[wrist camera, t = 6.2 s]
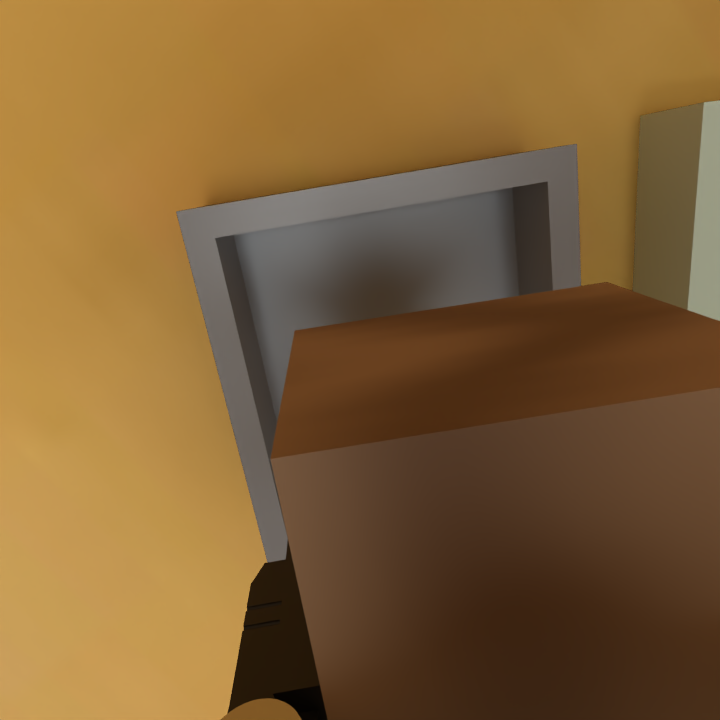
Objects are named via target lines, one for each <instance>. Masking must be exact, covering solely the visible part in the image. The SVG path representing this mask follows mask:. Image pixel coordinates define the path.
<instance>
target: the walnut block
mask: <svg viewBox="0 0 720 720" xmlns="http://www.w3.org/2000/svg"><path fill="white" fill-rule="evenodd" d="M270 460H271V464H272V469H273V473H274V478H275V482H276V487H277V491H278V496H279V501H280V505H281V510H282V514H283V519H284V523H285V528H286V532H287V537H288V542H289V546H290V551H291V555H292V560H293V564H294V569H295V573H296V578H297V583H298V587H299V592H300V596H301V601H302V605H303V610H304V614H305V619H306V624H307V628H308V633H309V637H310V642H311V646H312V651H313V655H314V660H315V665H316V669H317V674H318V678H319V683H320V687H321V692H322V696H323V701H324V706H325V710H326V715H327V719H328V720H720V321H718V320H715V319H712V318H709V317H706V316H703V315H701V314H698V313H695V312H692V311H689V310H686V309H683V308H680V307H677V306H674V305H672V304H669V303H666V302H663V301H660V300H657V299H654V298H651V297H648V296H645V295H643V294H640V293H637V292H634V291H631V290H628V289H625V288H622V287H619V286H616V285H614V284H611V283H608V282H604V283H598V284H592V285H585V286H579V287H572V288H566V289H559V290H553V291H546V292H540V293H533V294H527V295H520V296H514V297H508V298H501V299H495V300H488V301H482V302H475V303H469V304H462V305H456V306H449V307H443V308H436V309H430V310H423V311H417V312H411V313H404V314H398V315H391V316H385V317H378V318H372V319H365V320H359V321H352V322H346V323H339V324H333V325H327V326H320V327H314V328H307V329H301V330H295V332H294V337H293V342H292V347H291V353H290V358H289V363H288V369H287V374H286V379H285V384H284V390H283V395H282V400H281V405H280V411H279V416H278V421H277V427H276V432H275V437H274V442H273V448H272V453H271V458H270Z"/></svg>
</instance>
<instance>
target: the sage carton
mask: <svg viewBox="0 0 720 720" xmlns="http://www.w3.org/2000/svg"><path fill="white" fill-rule="evenodd" d="M633 291H634V292H637V293H640V294H643V295H645V296H648V297H651V298H654V299H657V300H660V301H663V302H666V303H669V304H672V305H674V306H677V307H680V308H683V309H686V310H689V311H692V312H695V313H698V314H701V315H703V316H706V317H709V318H712V319H715V320H718V321H720V101H711V102H704V103H699V104H694V105H689V106H684V107H680V108H675V109H670V110H665V111H661V112H656V113H651V114H646V115H642V116H640V136H639V158H638V181H637V204H636V226H635V249H634V272H633Z"/></svg>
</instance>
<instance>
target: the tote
mask: <svg viewBox="0 0 720 720" xmlns="http://www.w3.org/2000/svg"><path fill="white" fill-rule="evenodd" d="M176 213H177V217H178V220H179V224H180V228H181V232H182V236H183V240H184V243H185V247H186V251H187V255H188V259H189V263H190V266H191V270H192V274H193V278H194V282H195V286H196V289H197V293H198V297H199V301H200V305H201V309H202V312H203V316H204V320H205V324H206V328H207V332H208V335H209V339H210V343H211V347H212V351H213V355H214V358H215V362H216V366H217V370H218V374H219V378H220V381H221V385H222V389H223V393H224V397H225V401H226V405H227V408H228V412H229V416H230V420H231V424H232V428H233V431H234V435H235V439H236V443H237V447H238V451H239V454H240V458H241V462H242V466H243V470H244V474H245V477H246V481H247V485H248V489H249V493H250V497H251V500H252V504H253V508H254V512H255V516H256V520H257V523H258V527H259V531H260V535H261V539H262V543H263V546H264V550H265V554H266V558H267V562H274V561H279V560H285V559H286V552H287V542H288V537H287V532H286V528H285V523H284V519H283V514H282V510H281V505H280V501H279V496H278V491H277V487H276V482H275V478H274V473H273V469H272V464H271V460H270V458H271V453H272V448H273V442H274V437H275V432H276V427H277V421H278V416H279V411H280V405H281V400H282V395H283V390H284V384H285V379H286V374H287V369H288V363H289V358H290V353H291V347H292V342H293V337H294V332H295V330H301V329H307V328H314V327H320V326H327V325H333V324H339V323H346V322H352V321H359V320H365V319H372V318H378V317H385V316H391V315H398V314H404V313H411V312H417V311H423V310H430V309H436V308H443V307H449V306H456V305H462V304H469V303H475V302H482V301H488V300H495V299H501V298H508V297H514V296H520V295H527V294H533V293H540V292H546V291H553V290H559V289H566V288H572V287H579V286H581V270H580V235H579V201H578V166H577V144H573V145H566V146H560V147H554V148H547V149H541V150H534V151H528V152H522V153H516V154H510V155H504V156H499V157H493V158H487V159H481V160H475V161H469V162H463V163H457V164H451V165H445V166H440V167H434V168H428V169H422V170H416V171H410V172H404V173H398V174H392V175H386V176H380V177H375V178H369V179H363V180H357V181H351V182H345V183H339V184H333V185H327V186H321V187H316V188H310V189H304V190H298V191H292V192H286V193H280V194H274V195H268V196H262V197H257V198H251V199H245V200H239V201H233V202H227V203H221V204H215V205H209V206H204V207H198V208H193V209H188V210H183V211H177V212H176Z"/></svg>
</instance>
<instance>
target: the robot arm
mask: <svg viewBox="0 0 720 720" xmlns="http://www.w3.org/2000/svg"><path fill="white" fill-rule="evenodd" d="M221 720H328V719H327V715H326V710H325V706H324V701H323V696H322V692H321V687H320V683H319V678H318V674H317V669H316V665H315V660H314V655H313V651H312V646H311V642H310V637H309V633H308V628H307V624H306V619H305V614H304V610H303V605H302V601H301V596H300V592H299V587H298V583H297V578H296V573H295V569H294V564H293V560H292V555H291V551H290V546H289V542H287V552H286V559H285V560H279V561H274V562H268V563H265V564H264V565H263V567H262V568H261V570H260V571H259V573H258V574H257V576H256V577H255V579H254V580H253V582H252V583H251V587H250V592H249V598H248V603H247V611H246V615H245V620H244V631H243V632H242V637H241V643H240V649H239V654H238V660H237V666H236V671H235V677H234V683H233V688H232V694H231V700H230V705H229V710H228V713H227V715H225V716H224V717H223V718H222V719H221Z"/></svg>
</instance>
